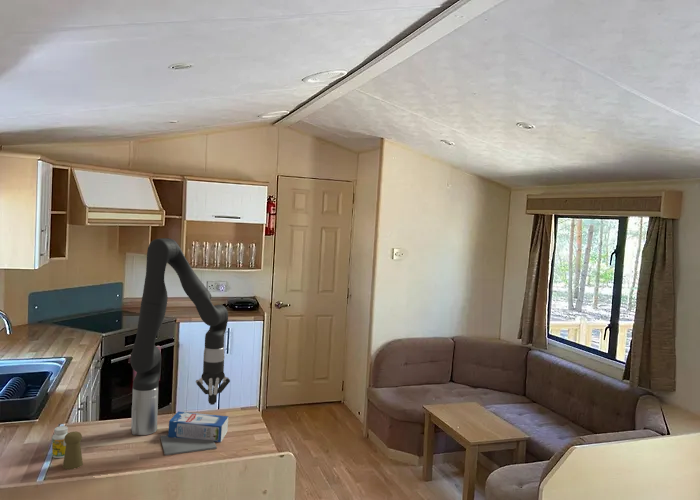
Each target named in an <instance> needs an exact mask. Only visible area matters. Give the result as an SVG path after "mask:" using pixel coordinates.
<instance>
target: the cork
mask: <svg viewBox="0 0 700 500" xmlns="http://www.w3.org/2000/svg"><path fill="white" fill-rule="evenodd" d="M82 439H83V434H82V433H81V432H80V431H69V432H68V434H66V436H65V443H66V449H65V455H64V458H63V462H62V468H63V469H64V468H65V470H75V469H74V468H76V469H79V468H81V467H82V466H83V465H84V464H83V455H82V448H81V447H82V446H81V441H82ZM80 466H81V467H80ZM78 467H79V468H78Z"/></svg>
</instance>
